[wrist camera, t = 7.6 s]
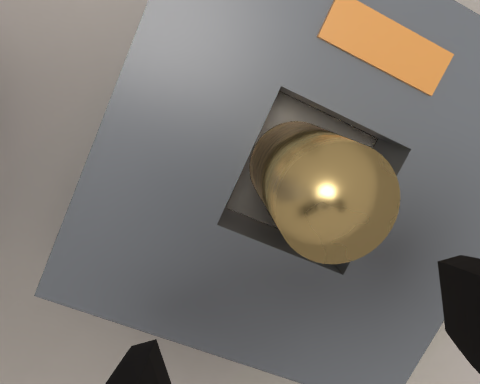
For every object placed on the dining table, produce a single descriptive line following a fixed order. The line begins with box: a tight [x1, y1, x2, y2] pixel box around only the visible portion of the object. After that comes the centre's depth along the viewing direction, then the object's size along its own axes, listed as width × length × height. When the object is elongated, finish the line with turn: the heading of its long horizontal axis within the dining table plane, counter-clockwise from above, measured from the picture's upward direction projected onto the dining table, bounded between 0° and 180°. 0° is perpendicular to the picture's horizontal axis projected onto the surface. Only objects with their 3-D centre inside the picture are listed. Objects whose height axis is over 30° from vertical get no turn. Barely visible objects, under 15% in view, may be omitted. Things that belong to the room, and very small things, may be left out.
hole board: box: [34, 0, 480, 384], centre depth 18 cm, size 16×16×3 cm
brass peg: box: [250, 121, 400, 264], centre depth 16 cm, size 4×4×6 cm
